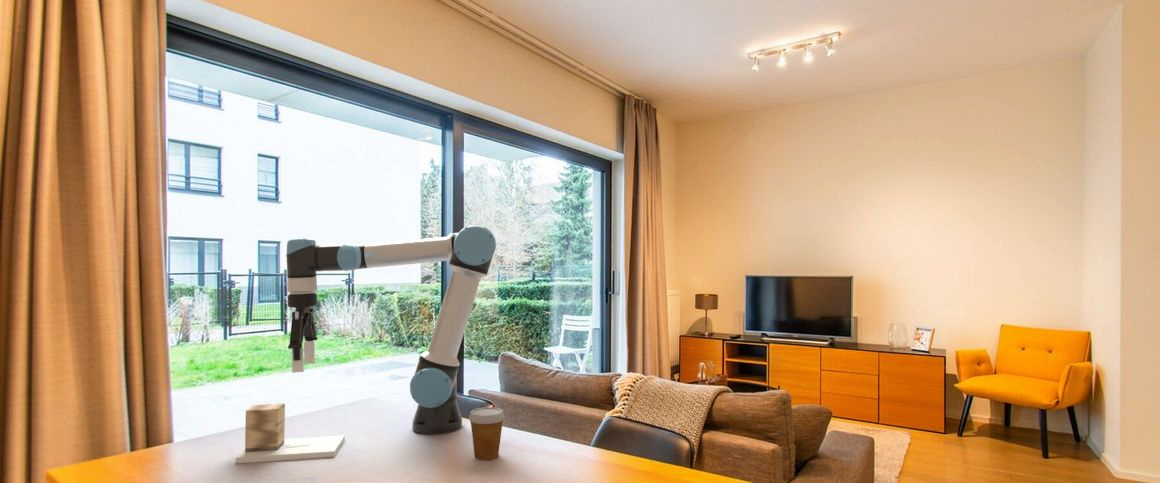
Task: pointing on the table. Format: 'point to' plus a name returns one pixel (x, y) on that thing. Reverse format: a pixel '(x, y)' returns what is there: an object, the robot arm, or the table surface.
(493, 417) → the disposable coffee cup
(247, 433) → the block
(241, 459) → the board
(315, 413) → the table surface
